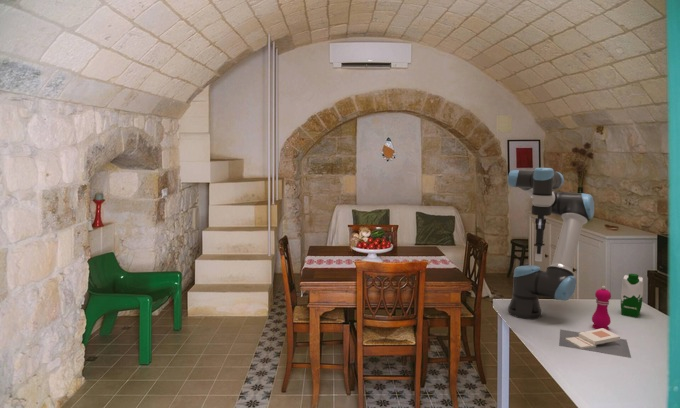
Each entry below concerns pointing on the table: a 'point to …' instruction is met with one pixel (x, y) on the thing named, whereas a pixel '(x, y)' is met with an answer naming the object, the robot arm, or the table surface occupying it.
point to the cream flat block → (599, 336)
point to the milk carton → (631, 295)
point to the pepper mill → (601, 309)
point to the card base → (580, 342)
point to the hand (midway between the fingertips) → (538, 260)
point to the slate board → (598, 345)
